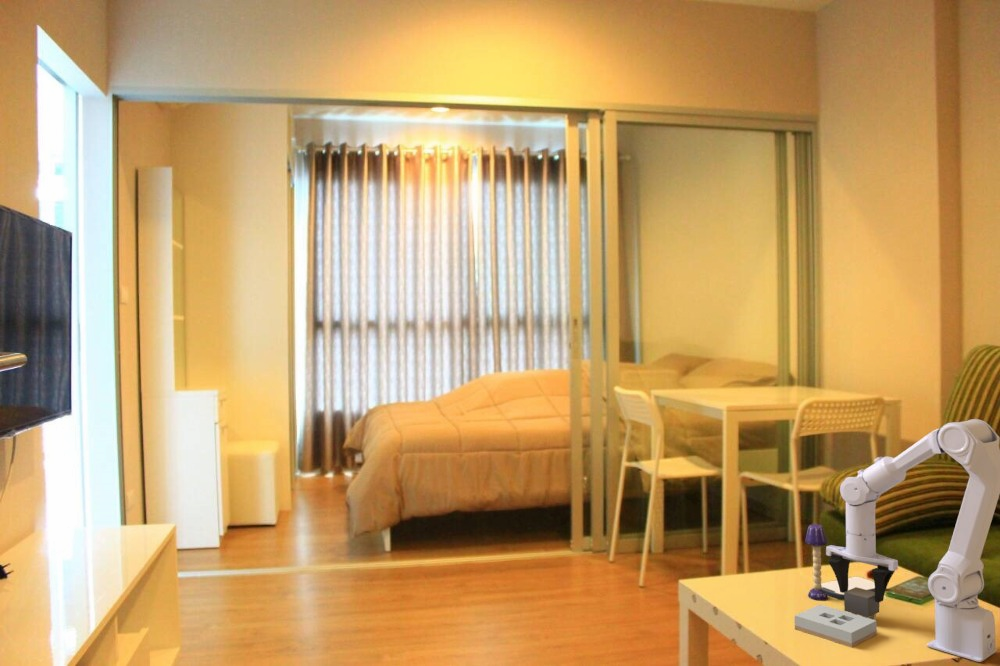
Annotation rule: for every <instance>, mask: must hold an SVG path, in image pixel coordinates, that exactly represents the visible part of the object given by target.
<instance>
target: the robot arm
mask: <svg viewBox="0 0 1000 666" xmlns="http://www.w3.org/2000/svg"><path fill="white" fill-rule="evenodd" d="M937 454H947V455H948V456H949V457H951V458H952V459H954V460H955V461H956V462H957V463H959V464H960V465H961V466H962V467H963V468H964V470H965V472H966V473H967V474H968V475H969V478H968V481H967V485H966V489H965V490H964V495H963V498H962V503H961V505H960V509H959V513H958V516H957V519H956V523H955V527H954V529H953V534H952V536H951V540H950V544H949V547H948V550H947V552H945V554H944V555H943V557H942V558H941V559H940V561H939V562H938V565H937V568H936V570H935V571H933V572H932V573H931V574H930V575H929V577H928V580H927V587H928V590H929V592H930V594H931V596H932V597H933V598H934V623H935V624H934V629H935V631H934V632H935V639H932V640H930V641H929V642H927V644H926V646H927V647H928V648H931V649H934V650H938V651H941V652H945V653H947V654H951V655H954V656H958V657H961V658H964V659H968V660H972V661H974V662H976V663H977V662H979V663H982V662H983V661H985V660H987V658H989V657H991V656H992V655H994V654H996V652H998V650H997V648H996V631H995V630H996V624H995V623H996V622H995V621H996V619H995V616H994V613H993V611H992V610H990V609H988V608H984V607H982V606H980V605H979V599H978V595H980V593H981V592H982V591H983V589H984V587H985V581H984V575H983V570H984V566H985V565H984V563H983V561H982V560H981V557H982V554H983V550H984V546H985V544H986V540H987V537H988V534H989V531H990V527H991V523H992V522H993V521H992V520H993V517H994V514H995V510H996V507H997V504H998V500H999V498H1000V436H999V435H998V434H997V432H996V431H995V430H994V428H992V427H991V425H990V424H988V423H987V422H986V421H985V420H981V419H977V418H973V419H971V418H970V419H968V420H964V421H959V422H956V421H955V422H954V421H953V422H948V423H945V424H944V425H943V426H942V427H940V428H937V429H934V430H932V431H931V432H929V433H928V434H926V435H925V436H924V437H922V438H921V439H919V440H918V441H917V442H915V443H914V444H913V445H911V446H909V447H908V448H907V449H906V450H904V451H902V452H901V453H899V454H898V455H897V456H895V457H892V456H878V457H876V458H875V459H874V460H873V461H874V463H873V464H871V465H870V466H868V467H866V468H865V469H860V470H858V471H857V476H849V477H846V478H845V479H844V480H843V481H841V484H840V486H839V492H840V496H841V498H842V499H843V500H844V502H845V547H844V546H837V545H832V544H831V545H827V546H825V547H826V548H825V555H826V556H828V557H830V558H829V559H827V561H828V565H830V567H831V570H832V571H833V573H834V576H835V578H836V580H837V582H838V585H839V589H840V592H842V593H844V592H846V591H848V578H849V568H850V563H851V561H853V562H858V563H862V564H866V565H870V566H873V567H874V566H875V567H876V568H872V569H871V574H872V577H873V582H874V584H875V602H879V603H882V602H883V601H884V598H885V593H886V590H887V588H888V584H889V582H890V580H891V578H892V576H893V575H894V573H895V571H897V570H898V569H899V566H898V565H899V561H898V559H894V558H891V557H888V556H885V555H882V554H880V553H877V552H876V551H877V549H876V548H877V547H876V546H877V545H876V544H877V543H876V542H877V541H876V539H877V538H876V534H877V533H876V508H877V507H876V504H877V501H878V500H879V498H880V497H881V495H882V494H884V493H886V492H887V491H889V490H891V489H892V488H894V487H895V486H897V485H899V484H901V483H902V482H904V481H905V479H906V476H907V471H909V470H910V469H912V468H914V467H916V466H917V465H919V464H921V463H922V462H924V461H926V460H928V459H930V458H932V457H933V456H935V455H937Z"/></svg>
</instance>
